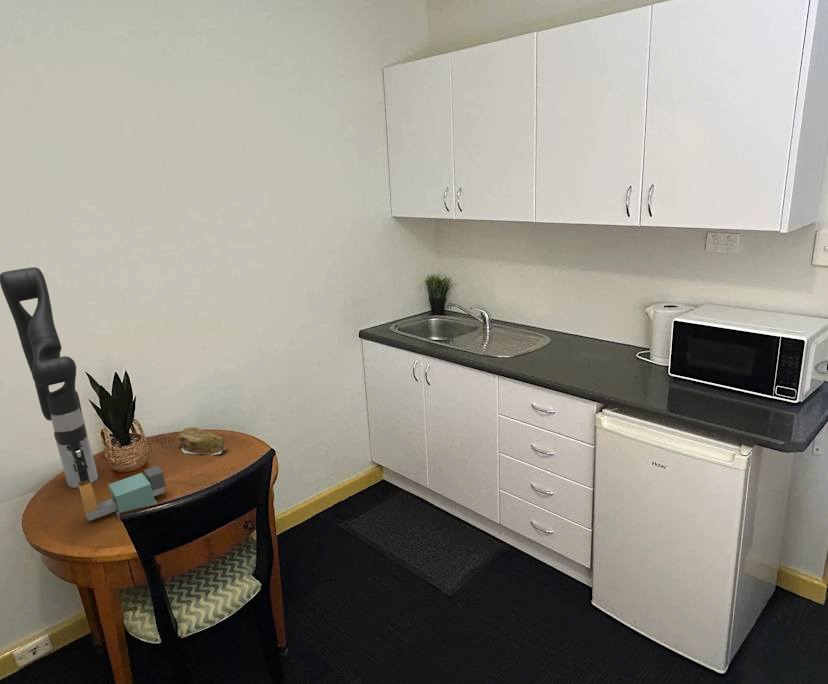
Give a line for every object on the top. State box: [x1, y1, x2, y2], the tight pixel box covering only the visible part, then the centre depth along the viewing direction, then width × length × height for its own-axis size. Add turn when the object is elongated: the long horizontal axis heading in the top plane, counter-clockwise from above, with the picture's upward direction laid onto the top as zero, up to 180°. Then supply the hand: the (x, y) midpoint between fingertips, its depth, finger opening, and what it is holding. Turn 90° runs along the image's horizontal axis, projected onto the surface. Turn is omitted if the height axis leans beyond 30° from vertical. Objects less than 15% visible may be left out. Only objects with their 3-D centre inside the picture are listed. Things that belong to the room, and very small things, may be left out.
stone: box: [175, 426, 226, 456], centre depth 216 cm, size 22×10×7 cm, turn 65°
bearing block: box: [108, 472, 158, 516], centre depth 182 cm, size 11×11×8 cm
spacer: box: [144, 465, 167, 491], centre depth 185 cm, size 6×4×5 cm, turn 39°
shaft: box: [78, 480, 166, 522], centre depth 179 cm, size 4×22×12 cm, turn 129°
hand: (82, 475), depth 171 cm, fingers open, 8 cm apart
